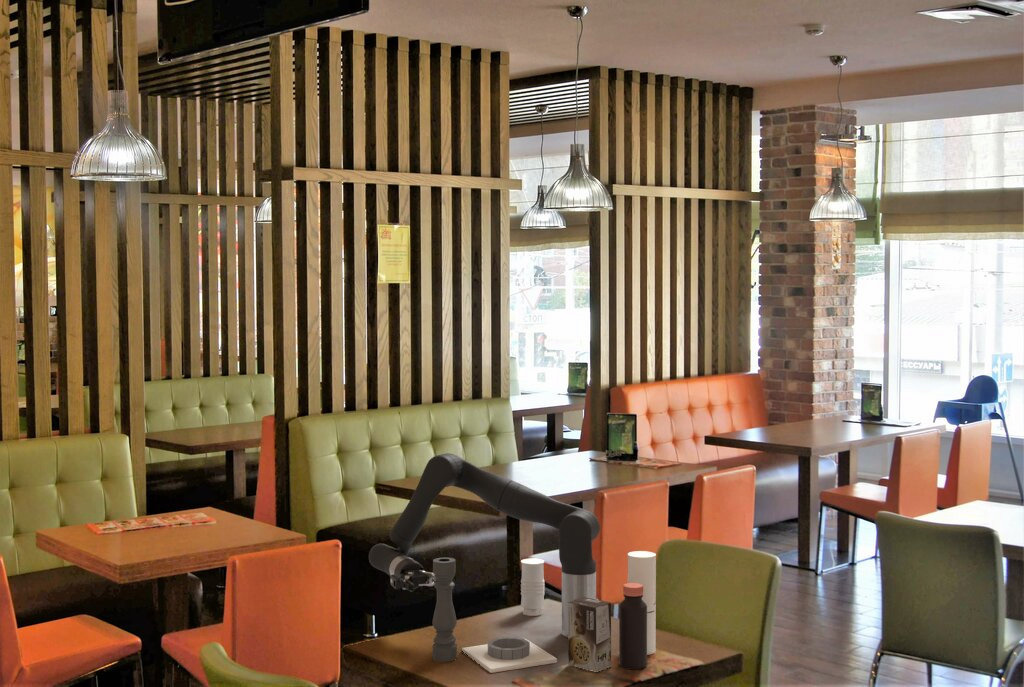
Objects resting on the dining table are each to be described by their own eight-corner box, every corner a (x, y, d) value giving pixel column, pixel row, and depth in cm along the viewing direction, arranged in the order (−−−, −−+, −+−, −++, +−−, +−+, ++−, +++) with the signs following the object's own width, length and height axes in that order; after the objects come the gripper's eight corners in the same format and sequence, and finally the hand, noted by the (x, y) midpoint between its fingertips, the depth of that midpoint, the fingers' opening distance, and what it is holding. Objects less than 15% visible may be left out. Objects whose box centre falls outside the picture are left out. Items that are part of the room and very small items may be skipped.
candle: (549, 612, 326) (549, 561, 325) (533, 617, 321) (533, 565, 320) (532, 608, 331) (532, 557, 330) (515, 613, 326) (515, 561, 325)
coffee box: (612, 667, 278) (612, 602, 278) (596, 673, 273) (596, 607, 273) (583, 659, 284) (583, 595, 284) (567, 665, 280) (567, 601, 279)
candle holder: (453, 663, 282) (453, 563, 280) (429, 661, 283) (428, 562, 282) (459, 655, 288) (459, 557, 286) (436, 653, 289) (435, 556, 288)
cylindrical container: (659, 648, 293) (659, 552, 292) (650, 656, 286) (650, 558, 285) (632, 644, 296) (633, 550, 295) (623, 652, 289) (623, 555, 288)
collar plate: (525, 642, 298) (525, 629, 298) (556, 662, 282) (556, 648, 282) (462, 651, 290) (462, 638, 290) (490, 672, 274) (490, 658, 274)
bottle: (629, 671, 275) (629, 590, 274) (613, 663, 281) (614, 583, 280) (652, 667, 278) (652, 586, 277) (636, 659, 284) (637, 580, 283)
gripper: (381, 560, 306) (402, 574, 291) (431, 556, 312) (453, 569, 297) (381, 588, 306) (401, 603, 292) (431, 582, 312) (453, 597, 298)
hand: (427, 586), depth 295 cm, fingers open, 8 cm apart
